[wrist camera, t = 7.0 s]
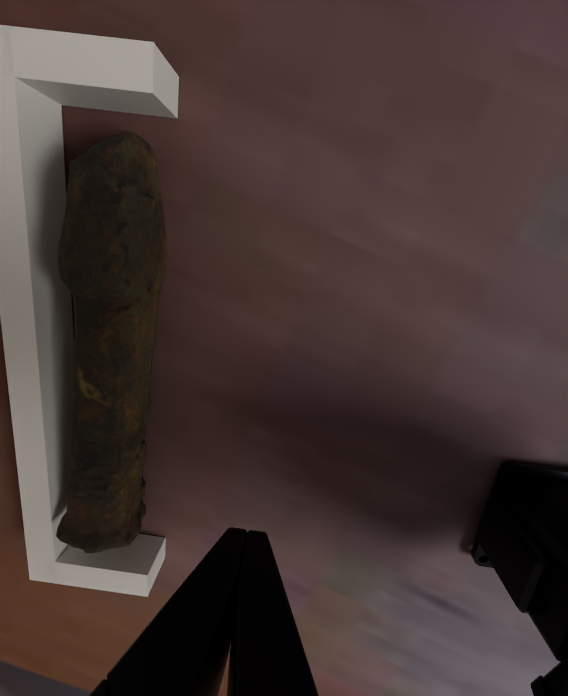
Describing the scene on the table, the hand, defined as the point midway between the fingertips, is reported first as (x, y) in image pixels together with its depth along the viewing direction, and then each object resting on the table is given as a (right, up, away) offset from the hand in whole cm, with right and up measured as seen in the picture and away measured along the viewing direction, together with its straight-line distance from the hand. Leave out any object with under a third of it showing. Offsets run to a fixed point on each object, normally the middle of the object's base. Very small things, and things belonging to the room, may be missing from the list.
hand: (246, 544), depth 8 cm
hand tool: (-7, +4, +10) cm, 14 cm away
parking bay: (-8, +4, +10) cm, 14 cm away
